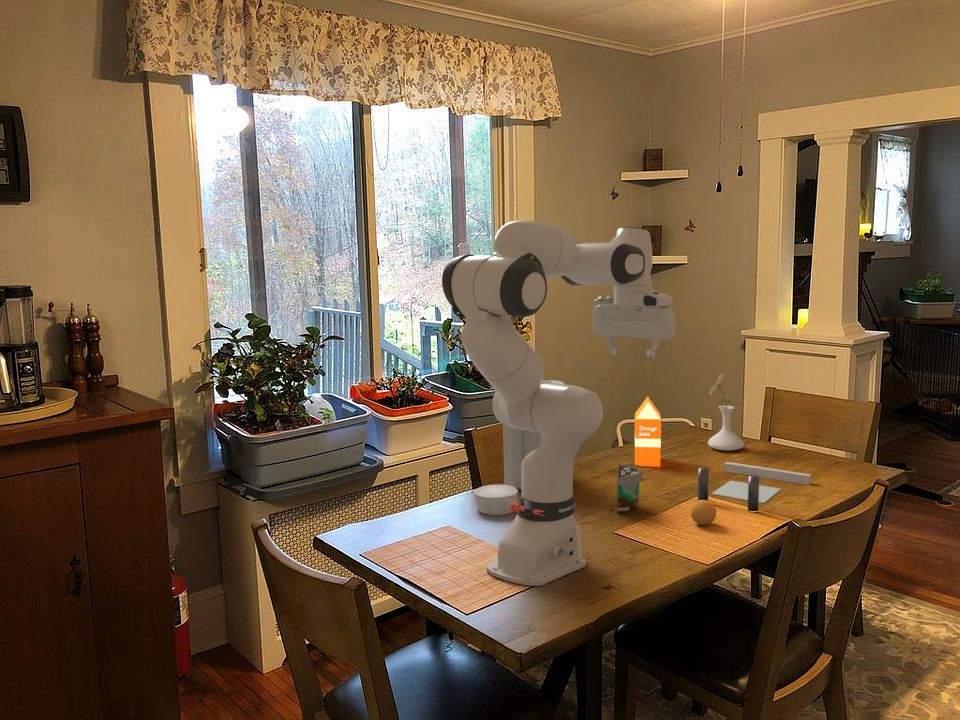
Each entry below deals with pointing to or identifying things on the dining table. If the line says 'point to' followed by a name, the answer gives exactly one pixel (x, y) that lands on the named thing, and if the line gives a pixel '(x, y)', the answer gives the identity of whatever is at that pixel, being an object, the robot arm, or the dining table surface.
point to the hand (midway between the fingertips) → (632, 356)
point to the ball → (703, 512)
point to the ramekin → (495, 499)
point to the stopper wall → (768, 473)
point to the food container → (628, 488)
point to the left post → (703, 483)
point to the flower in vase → (725, 425)
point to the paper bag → (518, 450)
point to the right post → (753, 492)
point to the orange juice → (647, 435)
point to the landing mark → (745, 491)
